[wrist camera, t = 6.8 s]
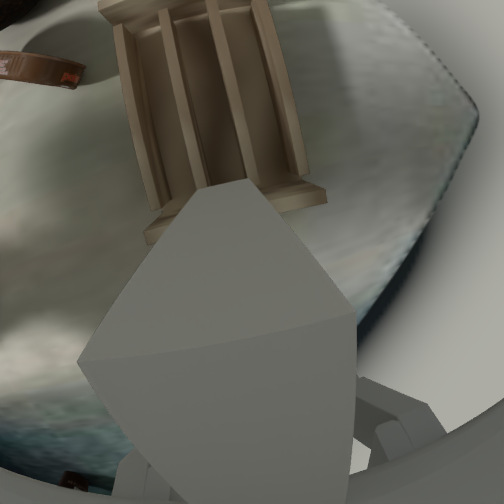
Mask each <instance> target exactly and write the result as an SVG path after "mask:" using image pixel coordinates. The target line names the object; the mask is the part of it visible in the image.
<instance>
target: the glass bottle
mask: <svg viewBox="0 0 504 504" xmlns="http://www.w3.org/2000/svg"><path fill="white" fill-rule="evenodd" d="M38 1H39V0H0V31H1V30H3V29H5V28H6V27H8V26H9V25H11V24H12V23H14V22H15V21H17V20H18V19H19V18H21V17H22V16H23V15H24V14H26V13H27V12H28V11H29V10H30V9H31V8H32V7H33V6H34V5H35V4H36V3H37V2H38Z"/></svg>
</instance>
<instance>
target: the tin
mask: <svg viewBox="0 0 504 504" xmlns="http://www.w3.org/2000/svg"><path fill="white" fill-rule="evenodd" d="M85 68H86V66H85V65H83V64H80V63H77V62H74V61H70V60H67V59H63V58H59V57H54V56H49V55H43V54H37V53H30V52H29V53H28V52H17V51H0V79H6V80H14V81H21V82H28V83H35V84H41V85H49V86H57V87H63V88H68V89H72V90H74V89H76V88H77V86H78V84H79V81H80V79H81V76H82V74H83V71H84V69H85Z"/></svg>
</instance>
